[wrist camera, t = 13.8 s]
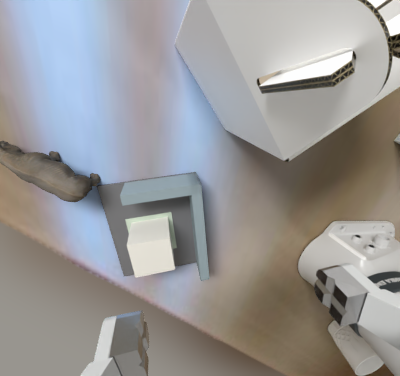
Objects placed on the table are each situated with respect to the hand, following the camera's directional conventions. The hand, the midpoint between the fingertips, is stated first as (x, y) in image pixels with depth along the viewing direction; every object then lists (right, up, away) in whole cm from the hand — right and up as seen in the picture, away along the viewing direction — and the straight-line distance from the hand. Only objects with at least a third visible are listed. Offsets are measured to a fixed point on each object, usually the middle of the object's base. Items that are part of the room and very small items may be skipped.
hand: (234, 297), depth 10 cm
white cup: (+37, -33, +50) cm, 70 cm away
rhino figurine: (-23, +9, +21) cm, 32 cm away
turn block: (-10, -3, +28) cm, 29 cm away
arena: (-9, -2, +28) cm, 29 cm away
